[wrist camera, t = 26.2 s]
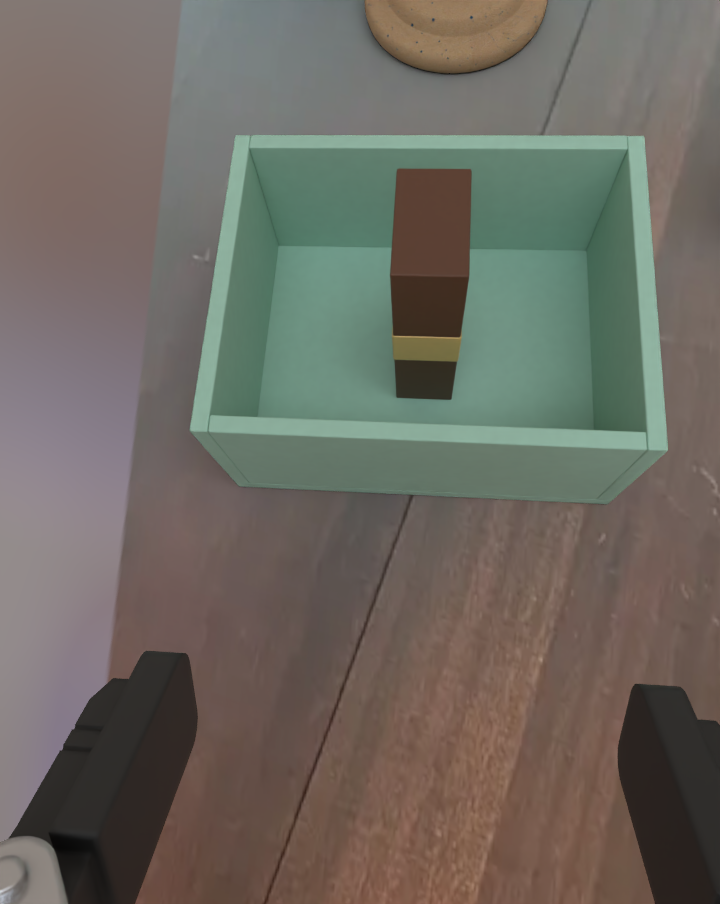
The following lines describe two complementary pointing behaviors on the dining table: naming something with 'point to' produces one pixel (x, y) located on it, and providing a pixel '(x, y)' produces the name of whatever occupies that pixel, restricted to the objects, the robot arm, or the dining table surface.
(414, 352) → the chocolate bar
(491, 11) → the candle holder
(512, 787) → the dining table surface
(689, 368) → the dining table surface
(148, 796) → the robot arm
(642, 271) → the bin
